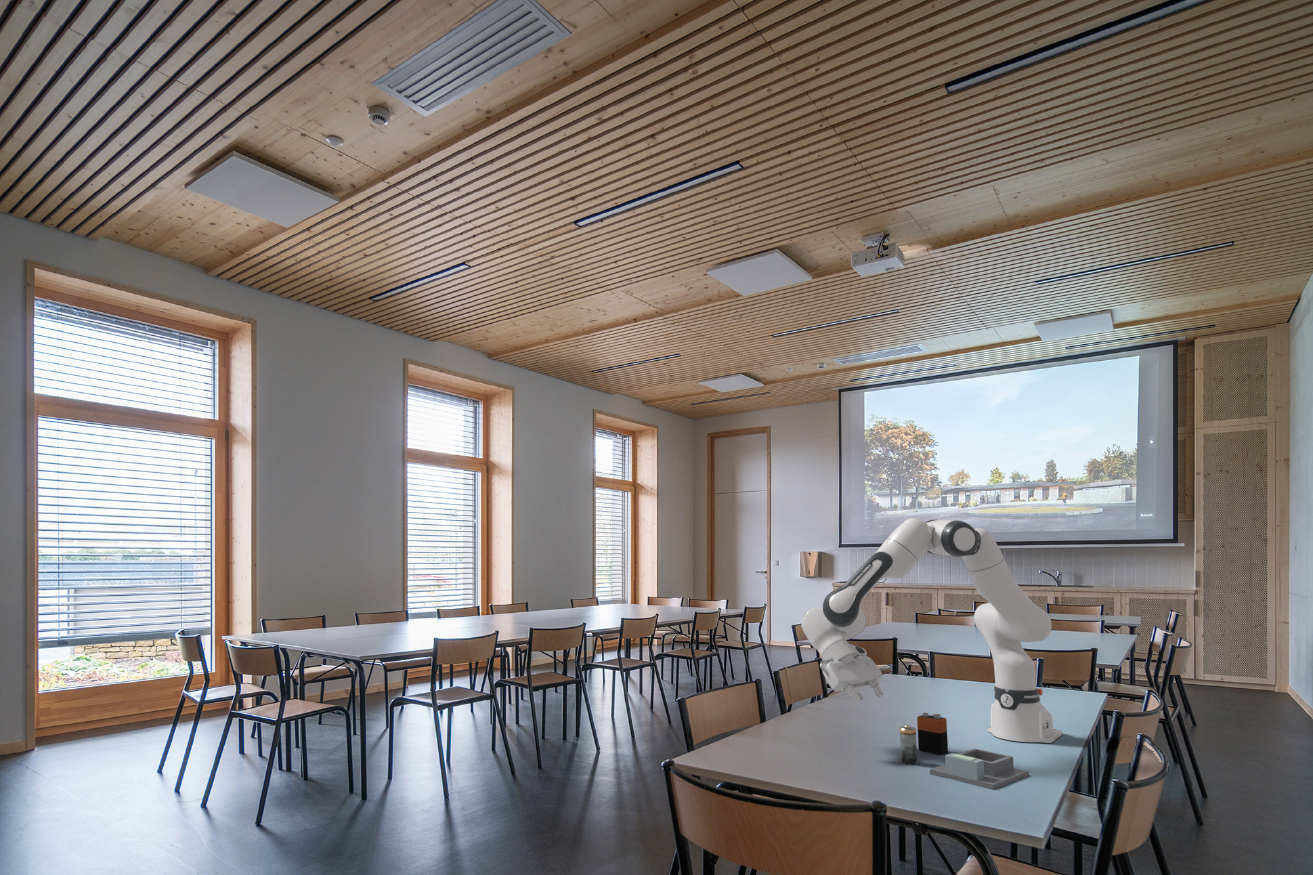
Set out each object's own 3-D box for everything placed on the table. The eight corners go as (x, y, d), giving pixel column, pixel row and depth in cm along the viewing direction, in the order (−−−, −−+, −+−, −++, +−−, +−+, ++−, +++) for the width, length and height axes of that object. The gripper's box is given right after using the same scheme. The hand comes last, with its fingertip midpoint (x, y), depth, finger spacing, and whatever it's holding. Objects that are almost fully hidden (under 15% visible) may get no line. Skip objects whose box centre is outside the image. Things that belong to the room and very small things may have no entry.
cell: (906, 759, 200) (905, 723, 201) (920, 762, 197) (918, 725, 198) (897, 762, 197) (896, 725, 199) (911, 765, 194) (910, 728, 196)
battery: (941, 755, 204) (939, 716, 206) (917, 750, 209) (916, 712, 211) (948, 752, 207) (946, 714, 208) (925, 747, 212) (923, 710, 213)
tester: (967, 761, 198) (966, 740, 199) (1029, 775, 186) (1027, 753, 187) (930, 773, 187) (929, 751, 188) (993, 789, 175) (991, 765, 176)
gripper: (823, 653, 209) (854, 695, 200) (867, 648, 222) (898, 687, 213) (811, 668, 212) (840, 710, 203) (855, 661, 224) (885, 701, 215)
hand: (870, 698), depth 208 cm, fingers open, 8 cm apart
